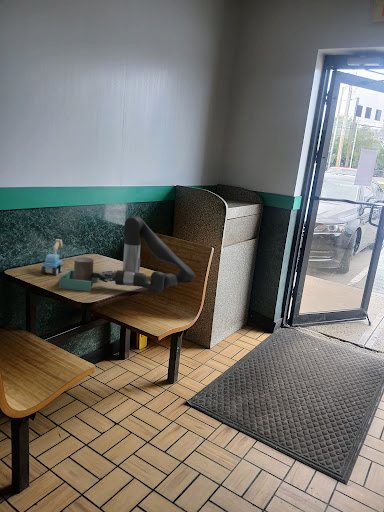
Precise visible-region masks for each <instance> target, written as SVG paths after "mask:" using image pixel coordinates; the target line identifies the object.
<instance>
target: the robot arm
mask: <svg viewBox="0 0 384 512" xmlns="http://www.w3.org/2000/svg"><path fill="white" fill-rule="evenodd" d="M140 237H141V238H142V239H143V242H144V243H145V245H146V246H147V248H148V250H149V251H150V253H151V254H152V255H153V256H154V257H155V258H156V259H157V260H159V261H161V262H164V263H167V264H172V265H174V266H176V267H177V268H178V269H180V270H179V271H178V272H177V273H176V274H173V273H170V272H169V273H168V272H167V273H164V272H162V271H158V270H156V271H152V272H151V275H150V281H149V282H150V283H149V282H148V281H147V280H148V279H147V275H146V274H145V273H143V272H140V265H141V256H140V255H141V243H142V239H141V238H140ZM123 239H124V247H123V263H122V270H120V269H117V270H116V271H115V272H113V271H112V270H108V271H107V270H106V271H101V272H95V271H93V273H92V277H94V278H98V281H99V280H100V281H102V282H104V283H108V282H114V284H115V285H116V286H127V287H141V288H144V289H148V290H150V291H152V292H155V293H160V292H162V291H163V290H164V288H167V287H175V286H177V285H179V284H180V283H182V284H183V283H184V284H185V283H191V282H193V281H194V280H195V278H196V274H195V272H194V271H193V270H192V268H191V267H190V266H188V265H187V263H185V262H184V261H183V260H181V259H180V258H179V257H178V256H177V255H176V253H174V252H173V250H172V249H171V248H170V247H169V246H168V245H167V244H166V243H165V242H164V241H162V239H161V238H160V237H159V236H158V235H157V234H156V233H154V231H153V230H152V229H151V228H150V227H149V226H148V225H147V223H146V222H145V221H144V220H143V218H141V217H140V216H139V215H133V216H130V217H128V218H126V220H125V221H124V225H123ZM94 272H95V273H94Z"/></svg>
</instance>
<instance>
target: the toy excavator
mask: <svg viewBox="0 0 384 512" xmlns="http://www.w3.org/2000/svg"><path fill="white" fill-rule="evenodd" d="M62 247H63V240H62V239H59V238H58V239H57V238H56V239H55V243H54V245H53V252H52V253H48V254H46V256H45V260H44V262H43V265H42V266H41V268H40V271H41V274H52V275H54V276H57V275H58V274H59V273H62V272H63V269H64V268H63V267H64V266H63V265H62V264H63V261H62V260H61V259H60V255H59V254H58V248H62Z"/></svg>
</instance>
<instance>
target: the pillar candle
mask: <svg viewBox="0 0 384 512" xmlns="http://www.w3.org/2000/svg"><path fill="white" fill-rule="evenodd" d="M73 270H74V279H76V280H85V281H91V287H92V286H93V284H94V282H93V277H92V273H93V272H94V259H93V258H92V257H85V256H82V257H80V256H79V257H76V258H74V262H73Z"/></svg>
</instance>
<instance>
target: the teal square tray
mask: <svg viewBox="0 0 384 512" xmlns="http://www.w3.org/2000/svg"><path fill="white" fill-rule="evenodd" d="M93 272H94V273H96V272H95V271H93ZM98 282H99V278H94V277H93V283H98ZM91 287H92V286H91V281H85V280H76V279H74V269H71V268H70V269H68V270H67V272H65V273H64V274H62V276H60V277H59V278H58V288H59V289H66V290H73V291H74V290H77V291H84V292H91Z"/></svg>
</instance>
